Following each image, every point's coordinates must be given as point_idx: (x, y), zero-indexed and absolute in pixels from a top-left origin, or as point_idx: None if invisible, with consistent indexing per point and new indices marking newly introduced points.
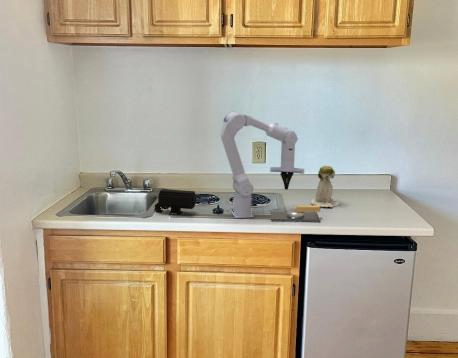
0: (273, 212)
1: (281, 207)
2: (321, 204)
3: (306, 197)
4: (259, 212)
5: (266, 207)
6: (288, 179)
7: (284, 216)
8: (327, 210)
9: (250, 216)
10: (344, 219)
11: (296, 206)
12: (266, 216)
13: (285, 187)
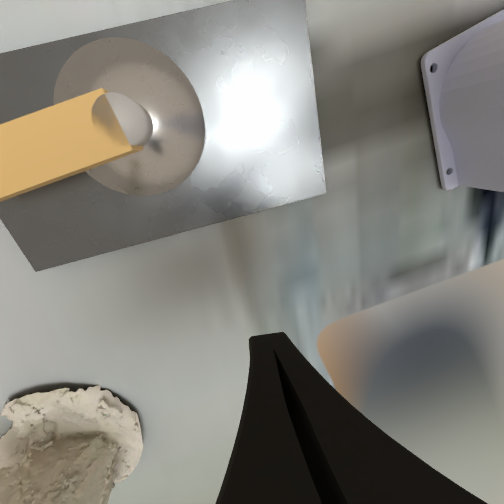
0: (305, 172)
1: (273, 318)
2: (70, 410)
3: (191, 480)
4: (381, 190)
5: (347, 291)
6: (270, 472)
7: (218, 94)
8: (18, 359)
9: (445, 43)
10: None
11: (110, 118)
12: (338, 118)
13: (282, 345)
